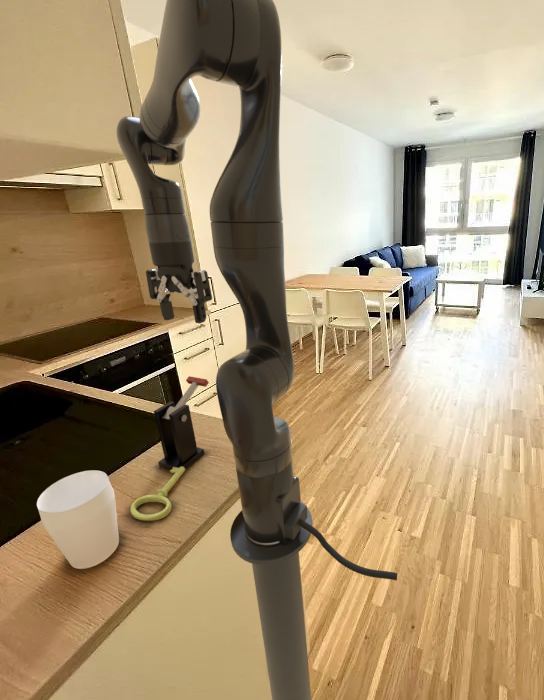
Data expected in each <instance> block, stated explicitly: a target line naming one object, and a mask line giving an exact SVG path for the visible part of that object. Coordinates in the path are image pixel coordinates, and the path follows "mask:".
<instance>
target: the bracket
mask: <svg viewBox="0 0 544 700" xmlns="http://www.w3.org/2000/svg"><path fill="white" fill-rule="evenodd" d="M170 406H172V407H175V406H176V404H175V402H174V401H169V402H167V403H165V404H163V405H162V406H160V407H158V408H157V409H155V410H153V413H154V418H155V422H156V427H157V431H158V436H159V440H160V443H161V448H162V454H163V458H162V459H160V460H159V461H158V462H157V463H158V466H159V468H162V469H166V470H168V471H170V470H172V468H173V467H176V468H180V467H184V468H185V470H187V469H188V468H189V467H190V466H192V465H193V464H194V463H195V462H196V461H198V460H199V459H200V458H201V457H202V456H204V455H205V449H204V448H201V447H198V446H197V445H198V444H197V441H196V436H195V430H194V425H193V420H192V414H191V410H190V405H189V404H185V405H184V406H182V407H180V408H179V409H177V410H176V411H174V412H172V413H171V414H169V418H170V423H171V424H168V423H167V422H166V421H165V420H164V419H163V418H162V417H163V415H164V414H165V413H166V411H167V410H168V408H169V407H170Z"/></svg>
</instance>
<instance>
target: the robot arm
mask: <svg viewBox="0 0 544 700" xmlns="http://www.w3.org/2000/svg"><path fill="white" fill-rule="evenodd" d="M162 17H163V18H162V23H161V29H160V34H159V40H158V46H157V54H156V60H155V67H154V73H153V78H152V82H151V85H150V87H149V89H148V91H147V93H146V95H145V98H144V100H143V102H142V104H141V106H140V110H139V116H130V115H129V116H123V117H121V118H120V119H119V121H118V123H117V126H116V130H115V131H116V139H117V142H118V145H119V148H120V150H121V153H122V154H123V156H124V158H125V160H126V163H127V164H128V166H129V168H130V170H131V173H132V175H133V177H134V180H135V182H136V184H137V188H138V190H139V191H138V192H139V194H140V199H141V205H142V209H143V210H142V211H143V214H144V222H145V223H144V224H145V231H146V236H147V242H148V247H149V251H150V257H151V261H152V265H153V266H155V267H157V268H152V269H146V271H145V276H146V282H147V287H148V294H149V298H150V299H151V300H156V301H157V303H159V307H160V310H161V316H162V317H163V320H164V321H171V320H173V319H174V318H175V313H174V307H173V303H172V301H171V298H172V295H173V294H174V293H178V294H182V295H183V296H184V297H186V298H188V300H189V301H190V303H191V304H192V311H193V317H194V322H195V324H202V323H205V322H206V319H207V312H206V306H205V304H206V303H207V302H210V301H212V300H213V294H212V290H211V284H210V280H209V274H208V272H207V270H205V269H203V270H197V271H195V270H194V268H193V264H194V263H195V256H194V250H193V244H192V240H191V239H192V238H191V232H190V227H189V223H188V220H187V216H186V210H185V205H184V199H183V192H182V188H181V186H180V184H179V183H178V182H177V181H175V180H173V179H169V178H165V177H163V176H159V175H157V174H156V173H155V172H154V171H153V169H152V168H151V167H150V165H155V166H176V165H178V164H180V163H182V162H183V160H184V158H185V154H186V153H185V152H186V142H187V138H188V137H189V136H190V135H191V133H192V132H193V131H194V129H195V128H196V127H197V124H198V123H199V119H200V116H201V103H200V97H199V95H198V92H197V90H196V87H195V85H194V82H193V81H192V79H193V78H194V77H197V76H198V77H201V78H204V79H205V80H208V81H212V82H216V83H221V84H225V85H229V86H233V87H238V89H239V94H240V95H239V96H240V118H239V119H240V122H239V131H238V136H237V138H236V142H235V145H234V148H233V150H232V152H231V154H230V156H229V159H228V160H227V162H226V164H225V166H224V168H223V170H222V172H221V174H220V176H219V178H218V181H217V183H216V184H215V187H214V189H213V192H212V194H211V199H210V202H209V220H210V230H211V238H212V247H213V253H214V258H215V261H216V265H217V267H218V269H219V272H220V273H221V275H222V277H223V279H224V281H225V282H226V283H227V285H228V287H229V289H230V290H231V292H232V293H233V295H234V296H235V298H236V300H237V303H238V304H239V305H240V306H239V307H240V308H241V311H242V314H243V319H244V326H245V341H246V342H245V343H246V344H245V350H243V351H241V352H240V353H238V354H236V355H234V356H232V357H231V358H229V359H228V360H225V361H224V362H223V363H222V364H221V365H220V366H219V368H218V369H217V373H216V376H215V390H216V396H217V400H218V405H219V409H220V414H221V418H222V423H223V427H224V431H225V434H226V436H227V438H228V439H229V441H230V443H231V445H232V450H233V457H234V464H235V471H236V472H235V473H236V478H237V484H238V491H239V498H240V506H241V511H242V512H243V518H244V524H245V526H244V528H245V534H246V537H247V538H248V540H249V541H250V542H252V543H253V544H255V545H257V546H261V547H272V546H276V545H283V546H286V545H287V544H288V542H289V540H290V539H293V540H294V539H295V537H296V535H297V534H298V532H299V530H300V529H301V527H303V528H304V529H306V530H307V531H309V532H310V533H311V535H312V536H314V538H316V539H317V541H318V542H319V543H320V545H321V546H322V548H323V549H324V550H325V551H326V552H327V553H328V554H329V555H330V556H331V557H332V558H333V559H334V560H336V561H337V562H338V563H339V564H340V565H342V566H343V567H345V568H347V569H348V570H350V571H353V572H354V573H357V574H359V575H363V576H365V577H369V578H374V579H375V578H376V579H384V580H390V581H391V580H392V581H398V572H394V571H388V570H387V571H386V570H379V569H373V568H372V569H371V568H367V567H365V566H361V565H358V564H356V563H353V562H352V561H350V560H348V559H347V558H345V557H344V556H342V555H341V554H340V553H339V552H338V551H337V550H336V549H335V548H334V547H332V545H331V544H330V543H329V542H328V541H327V540H326V538H325V536H324V535H323V534H322V533H321V532H320V530H318V529H317V528H315V527H314V526H313V525H312V526H311V525H310V524H308V523H307V522H305V520H306V519H307V508H308V505H307V504H305V503H304V504H305V505H304V504H301V502H302V498H301V483H300V478H299V477H298V476H295V472H294V459H293V448H292V447H293V446H292V435H291V427H290V425H289V424H288V422H287V421H286V420H285V419H283V418H281V417H278V416H274V409H273V408H274V407H273V405H275V403H277V402H278V401H279V400H281V399H282V397H284V396H285V395H286V394H287V393H288V392H289V390H290V389H291V387H292V386H293V383H294V378H295V364H294V363H295V362H294V354H293V349H292V341H291V336H290V329H289V322H288V321H289V320H288V313H287V312H288V311H287V292H286V291H287V290H286V277H285V275H286V274H285V238H284V236H285V235H284V222H283V221H284V217H283V206H282V205H283V204H282V190H281V163H280V162H281V161H280V128H281V127H280V124H281V123H280V120H281V94H282V93H281V92H282V67H283V65H282V60H283V59H282V58H283V53H282V51H283V50H282V49H283V48H282V30H281V23H280V16H279V12H278V9H277V6H276V4H275V2H274V0H166V2H165V7H164V12H163V16H162Z"/></svg>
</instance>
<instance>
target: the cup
mask: <svg viewBox="0 0 544 700" xmlns="http://www.w3.org/2000/svg"><path fill="white" fill-rule="evenodd" d="M36 507H37V510H38V513H39V516H40V521H41V524H42V526H43V528H44V529H45V531H46V532H47V533H48V535H49V536H50V538H51V539H52V540H53V542H54V544H55V545H56V546H57V548H58V550H59V551H60V552H61V553H62V555H63V556H64V557H65V559H66V560H67V562H68V563H69V564H70V566H71V567H72V568H74V569H77V570H85V569H90V568H92V567H95V566H97V565H99V564H101V563H103V562H104V561H106V560H107V559H108V558H109V557H110V556H112V555H113V554H114V552H115V551H116V550H117V548H118V546H119V543H120V536H119V526H118V515H117V506H116V495H115V490H114V487H113V486H112V484H111V481H110V478H109V475H108V474H107V473H106V472H104V471H101V470H94V469H93V470H83V471H80V472H76V473H72V474H70V475H68V476H65V477H63V478H61V479H59V480H57V481H56V482H54V483H52V484H51V485H50V486H48V487H47V488H46V489H45V490H44V491H42V492H41V494H40V495H39V497H38V498H37V501H36Z"/></svg>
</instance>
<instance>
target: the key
mask: <svg viewBox="0 0 544 700" xmlns="http://www.w3.org/2000/svg"><path fill="white" fill-rule="evenodd" d="M185 471H186V469H185V468H184V467H180V468H176V467H173V468H172V470H169V473H172V474H173V475H172V476H171V477H170V479H168V481H167V482H166V483H165V485H164V486H163V487H161V488H160V489H158V490H157V494H147V495H142V496H140V497H137V498H136V499H135V500H134V501H133V502H132V503H131V505H130V509H129V510H130V514H131V516H132V517H133V518H134V519H137V520H139V521H145V522H153V521H159V520H161V519H164V518H165V517H167V516H168V515H169V514H170V512H171V511H172V502H171V501H170V500H169V499H168V494H169V491H170V490H171V489H172V488H173V486H174V485H175V484H176V482H177V481H178V480H179V479H180V478H181V476H182V475H183V474H184V473H185ZM147 503H160V504H163V505H165V507H164V509H163V510H161V511H159V512H155V513H151V514H147V513H145V514H144V513H141V512H139V511H138V510H137V509H138V508H139V507H140V506H141V505H143V504H147Z"/></svg>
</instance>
